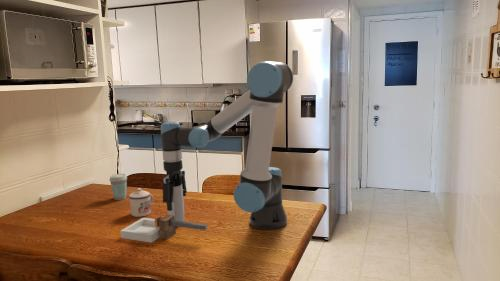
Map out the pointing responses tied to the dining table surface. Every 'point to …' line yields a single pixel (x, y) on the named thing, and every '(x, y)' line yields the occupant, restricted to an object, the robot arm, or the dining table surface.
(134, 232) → the tray
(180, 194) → the travel mug
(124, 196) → the coffee cup
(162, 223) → the pin mount
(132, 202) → the teacup with lid
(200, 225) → the pin
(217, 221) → the dining table surface
